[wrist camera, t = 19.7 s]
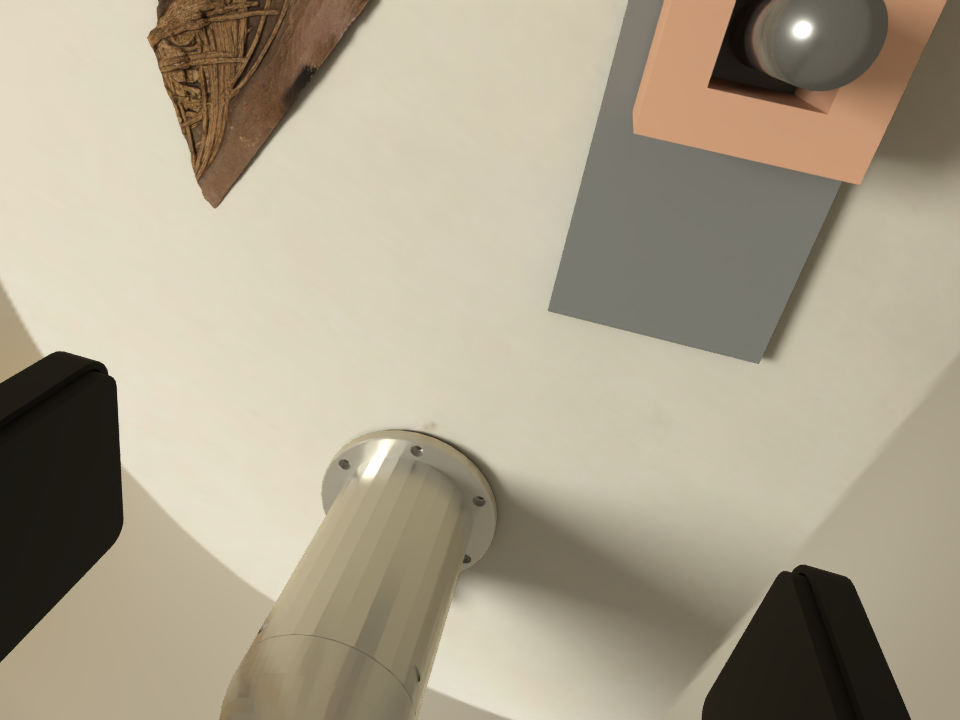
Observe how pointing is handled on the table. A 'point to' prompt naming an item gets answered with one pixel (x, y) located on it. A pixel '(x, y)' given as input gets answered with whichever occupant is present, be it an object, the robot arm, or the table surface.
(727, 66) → the track
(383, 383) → the table surface
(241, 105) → the wooden fragment
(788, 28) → the dowel
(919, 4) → the block
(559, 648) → the table surface
